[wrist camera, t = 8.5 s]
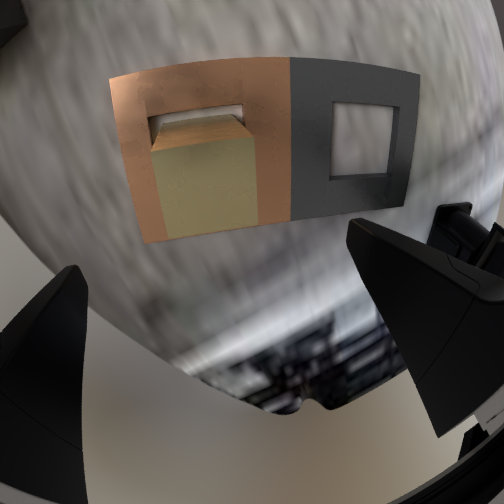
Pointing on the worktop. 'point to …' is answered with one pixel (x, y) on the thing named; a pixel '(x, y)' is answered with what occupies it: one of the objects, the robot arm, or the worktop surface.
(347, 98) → the frame with rectangular openings
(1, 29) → the phone stand
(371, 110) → the worktop surface
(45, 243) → the worktop surface
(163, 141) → the wooden block
